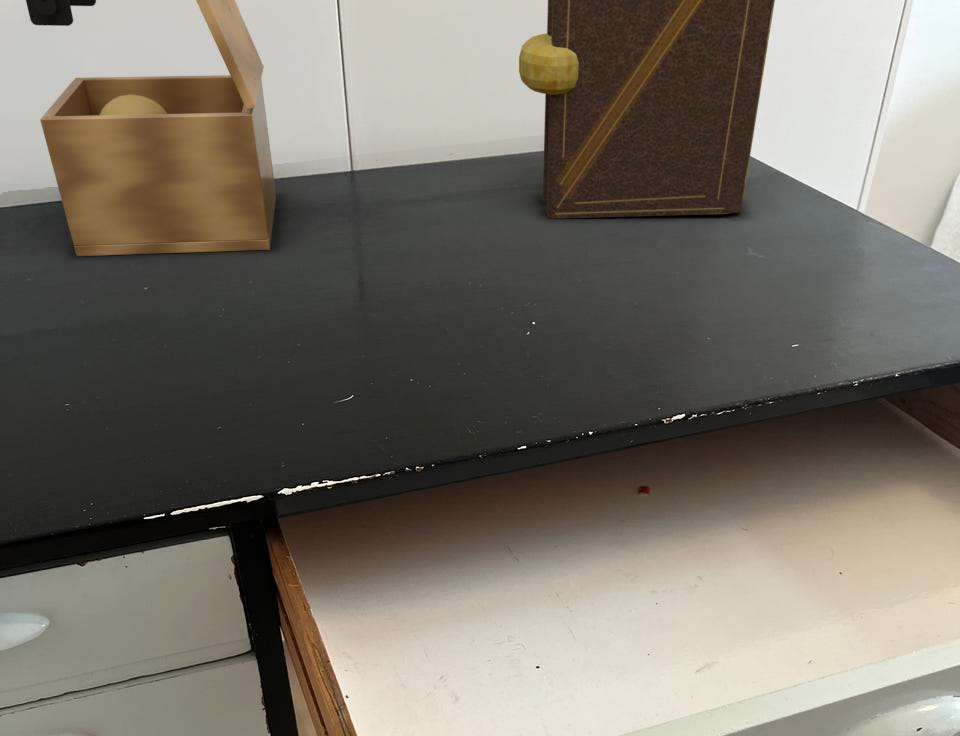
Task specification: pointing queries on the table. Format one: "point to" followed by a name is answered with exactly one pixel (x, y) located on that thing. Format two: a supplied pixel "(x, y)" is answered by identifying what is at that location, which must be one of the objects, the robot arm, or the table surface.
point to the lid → (234, 46)
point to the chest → (162, 167)
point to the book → (648, 104)
